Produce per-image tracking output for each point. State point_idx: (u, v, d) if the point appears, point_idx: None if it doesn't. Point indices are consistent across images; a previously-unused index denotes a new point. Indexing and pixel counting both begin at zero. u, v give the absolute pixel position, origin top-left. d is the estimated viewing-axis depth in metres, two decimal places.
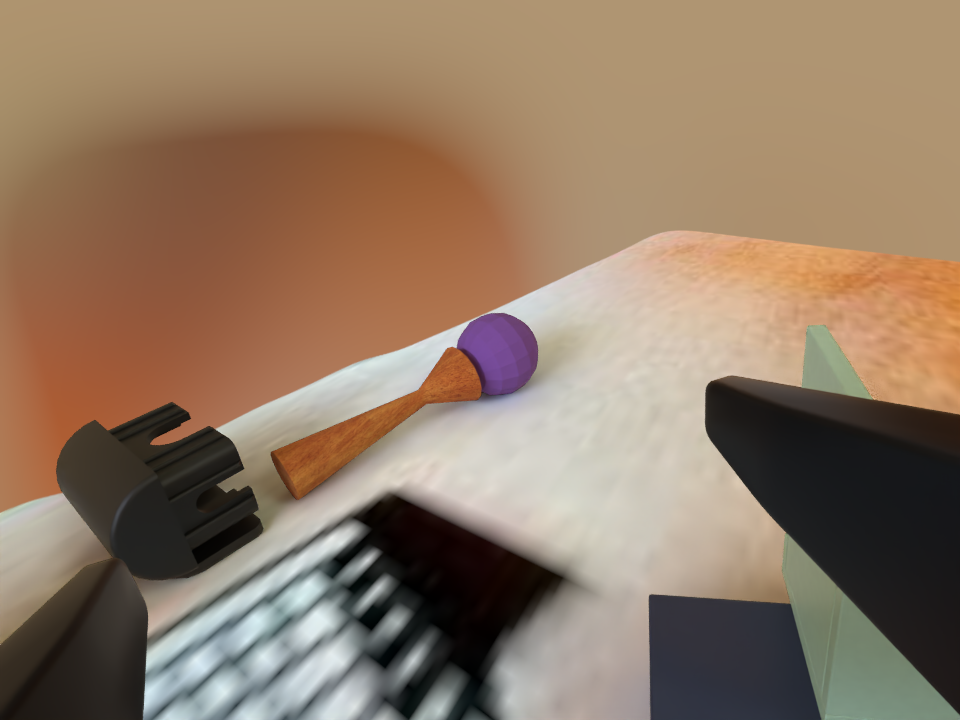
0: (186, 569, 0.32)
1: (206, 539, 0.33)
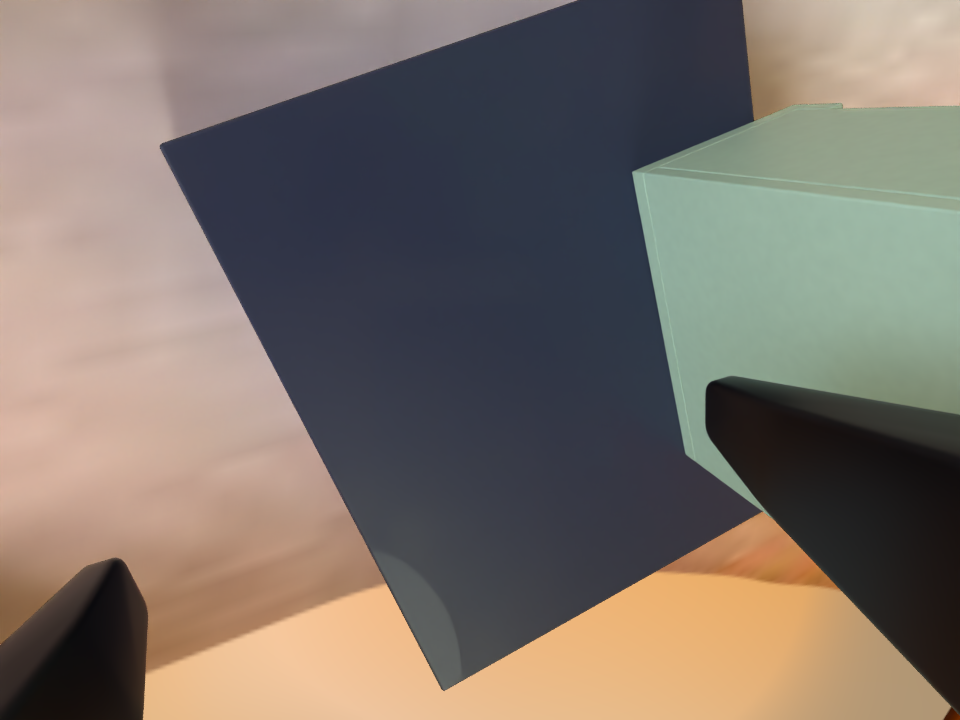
0: None
1: None
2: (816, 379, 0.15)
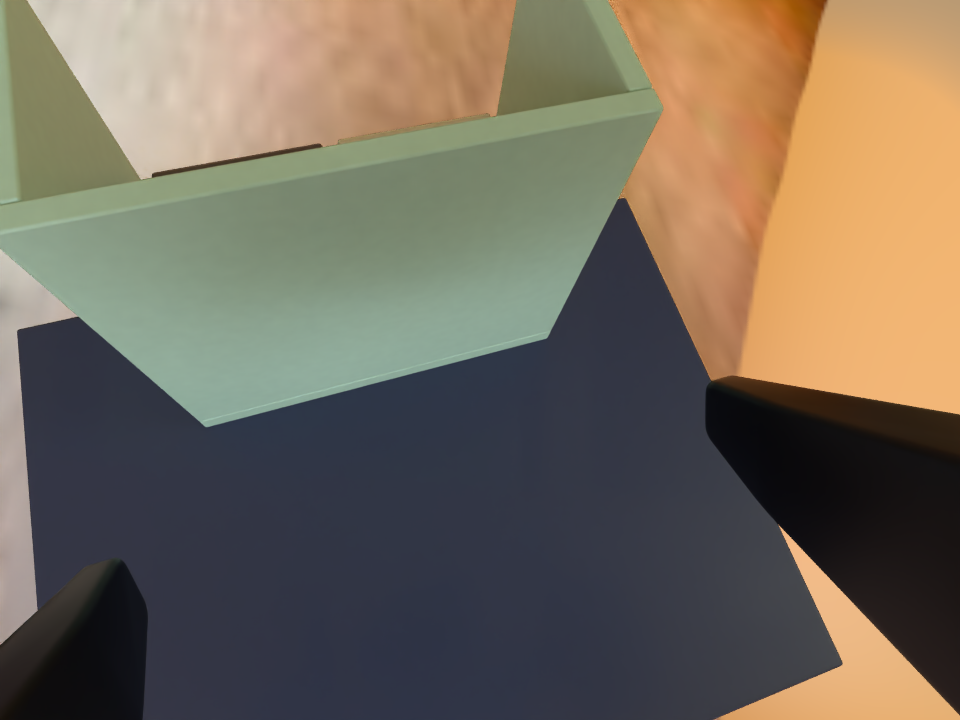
0: None
1: None
2: (339, 287, 0.13)
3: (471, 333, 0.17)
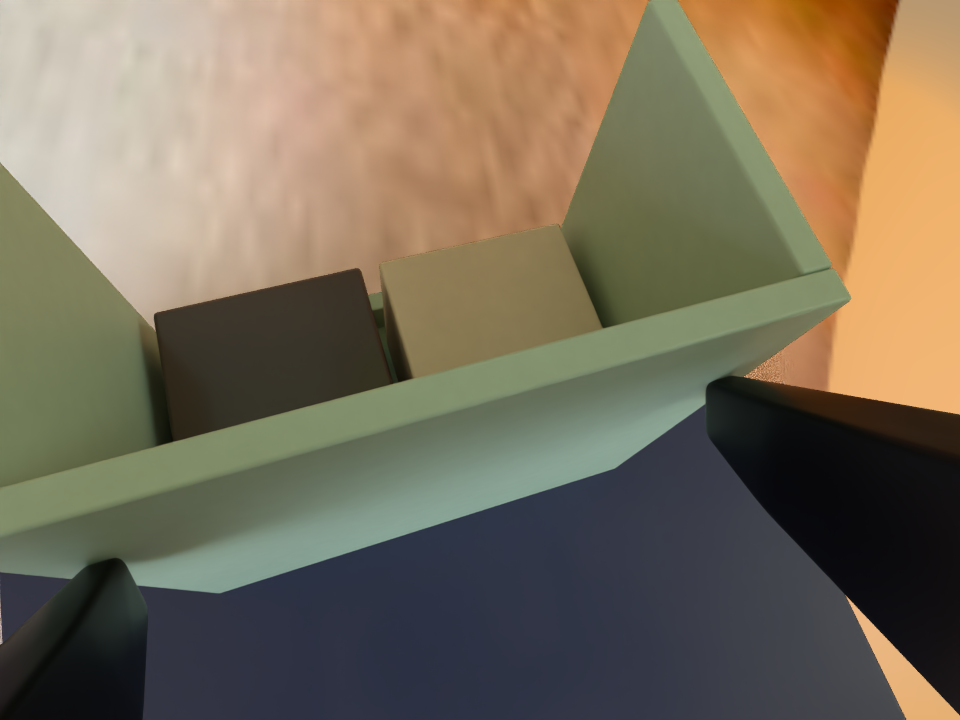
0: None
1: None
2: (395, 491, 0.10)
3: (535, 483, 0.15)
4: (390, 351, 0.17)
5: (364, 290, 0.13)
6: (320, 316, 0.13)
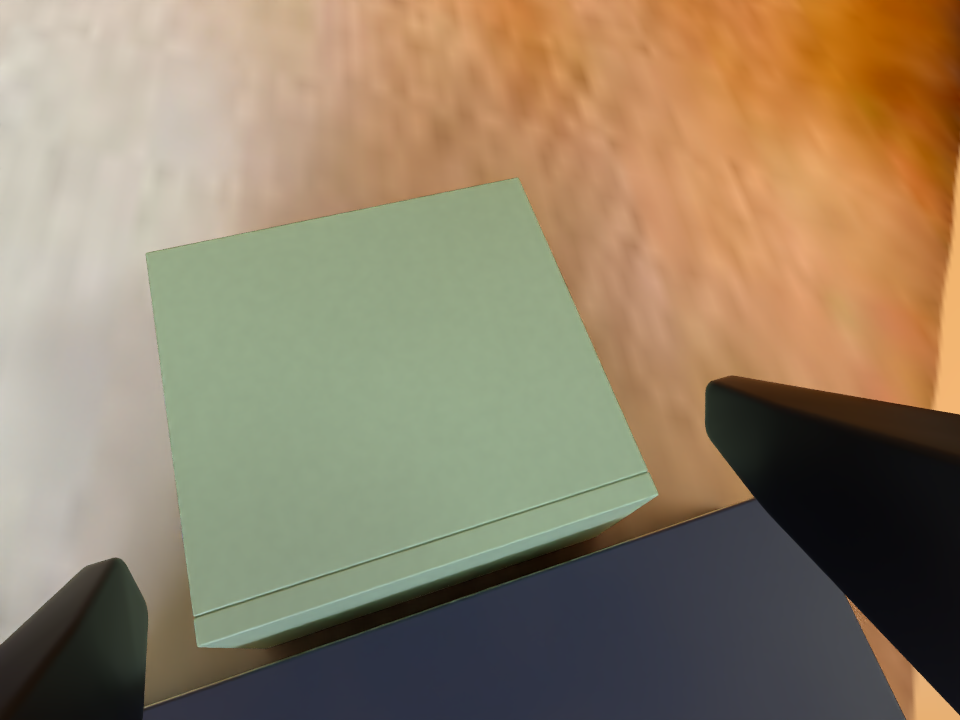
0: None
1: None
2: (346, 329, 0.16)
3: (521, 447, 0.15)
4: None
5: None
6: None
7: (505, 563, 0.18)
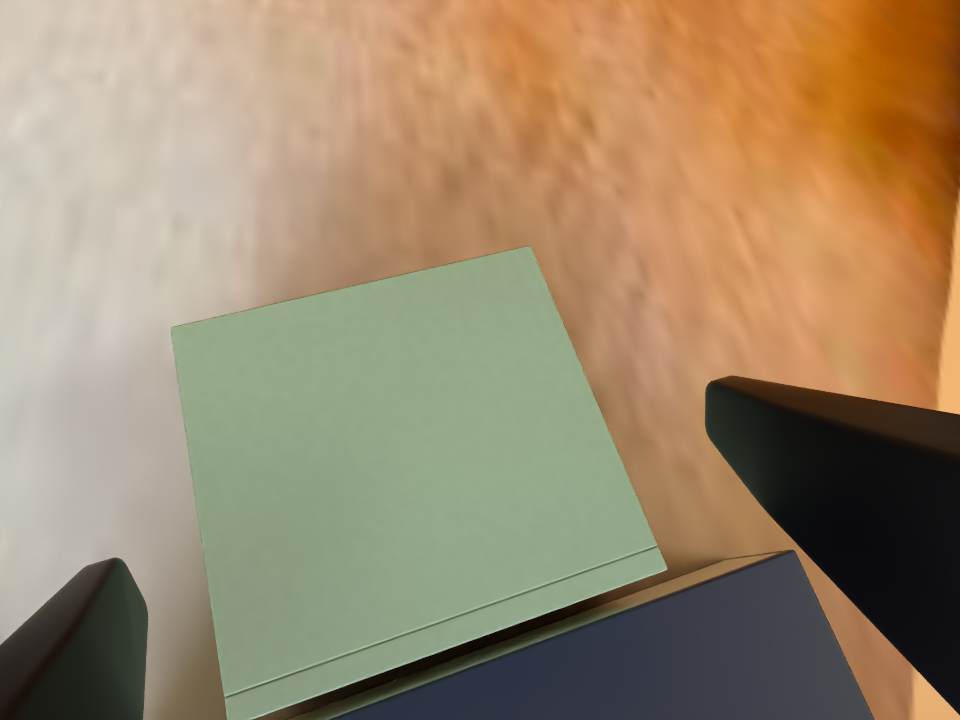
0: None
1: None
2: (366, 404, 0.16)
3: (536, 522, 0.16)
4: None
5: None
6: None
7: None
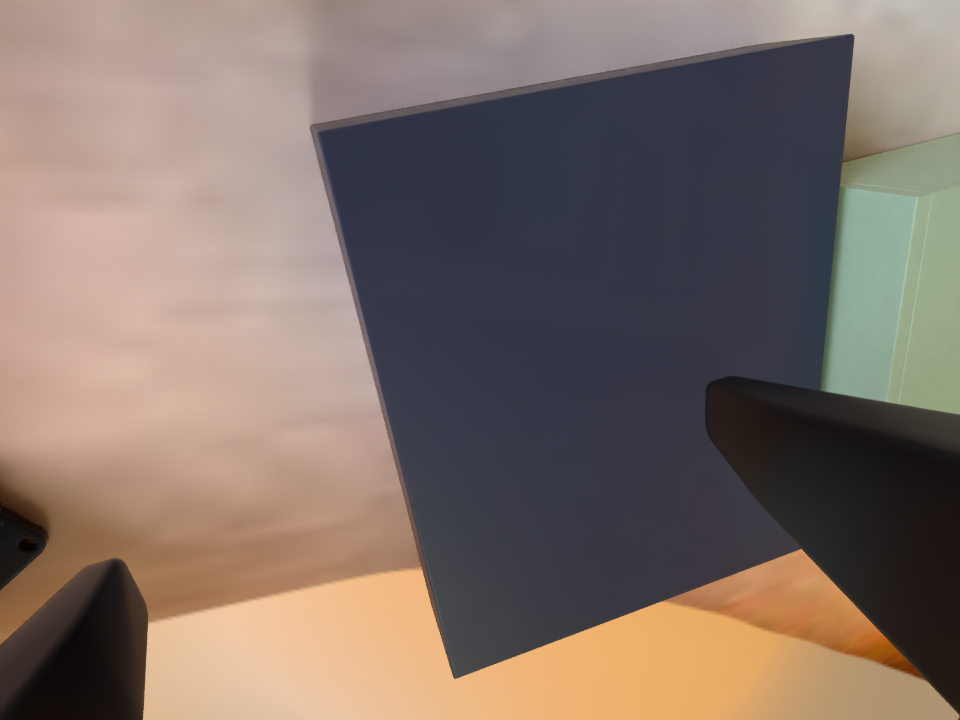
0: None
1: None
2: None
3: (927, 401, 0.23)
4: None
5: None
6: None
7: None
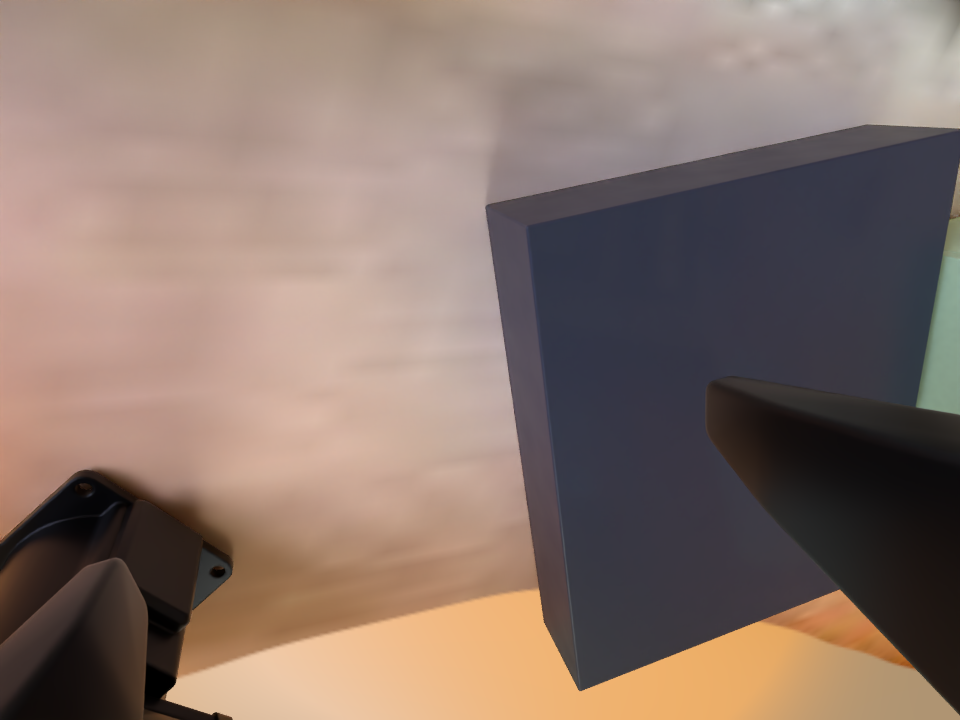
0: None
1: None
2: None
3: None
4: None
5: None
6: None
7: None
